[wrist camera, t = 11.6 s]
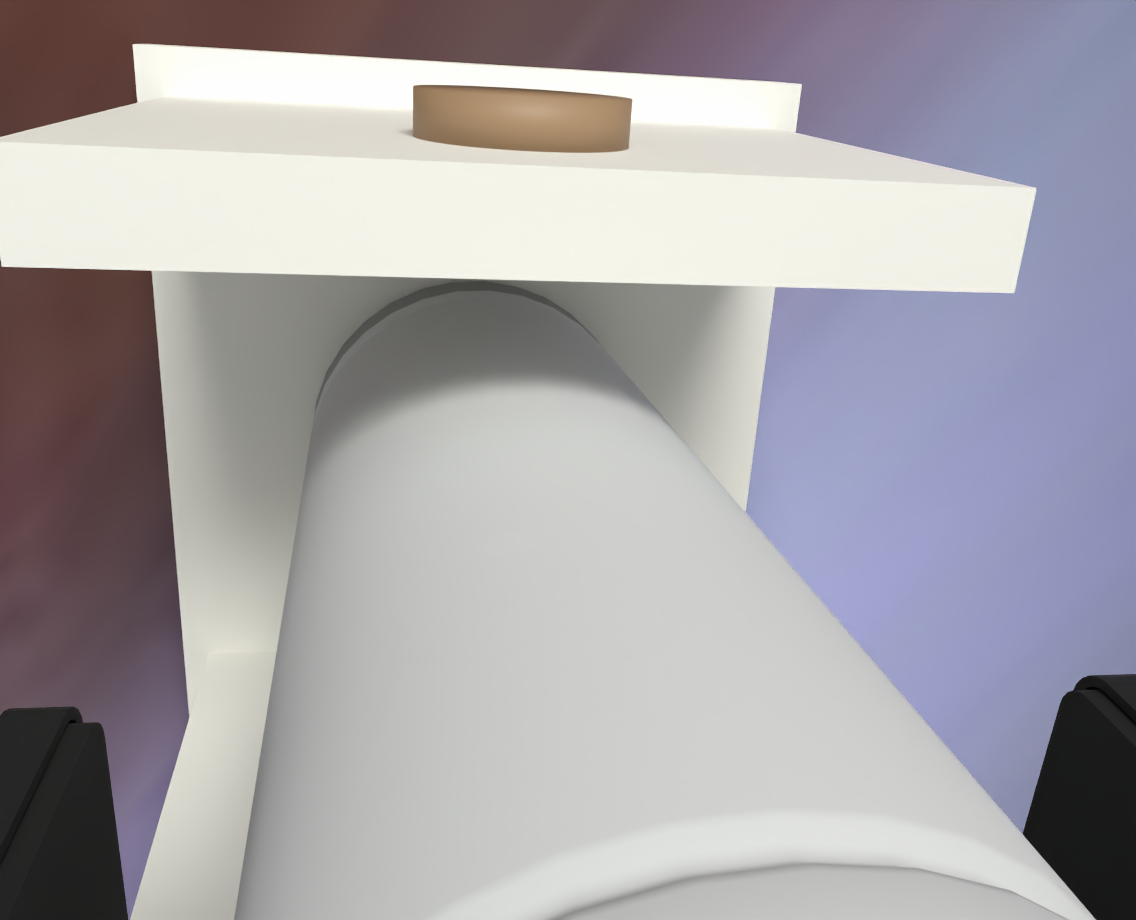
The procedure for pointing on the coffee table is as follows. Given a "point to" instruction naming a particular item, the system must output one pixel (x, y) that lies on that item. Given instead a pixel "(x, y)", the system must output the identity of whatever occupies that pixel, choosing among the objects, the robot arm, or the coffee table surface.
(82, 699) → the coffee table surface
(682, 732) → the travel mug
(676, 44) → the coffee table surface
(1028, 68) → the coffee table surface
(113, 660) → the coffee table surface
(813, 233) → the holder
